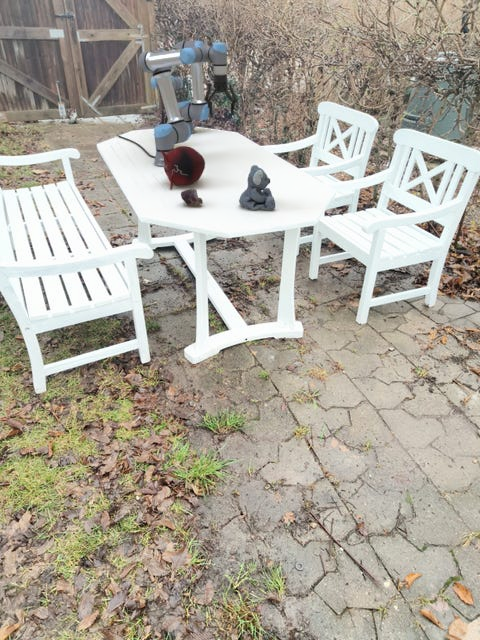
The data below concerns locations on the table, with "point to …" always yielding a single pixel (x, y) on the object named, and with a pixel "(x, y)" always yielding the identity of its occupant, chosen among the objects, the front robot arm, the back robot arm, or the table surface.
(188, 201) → the rock
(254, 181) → the koala plush
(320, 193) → the table surface
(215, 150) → the table surface
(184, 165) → the dark red rounded lump
